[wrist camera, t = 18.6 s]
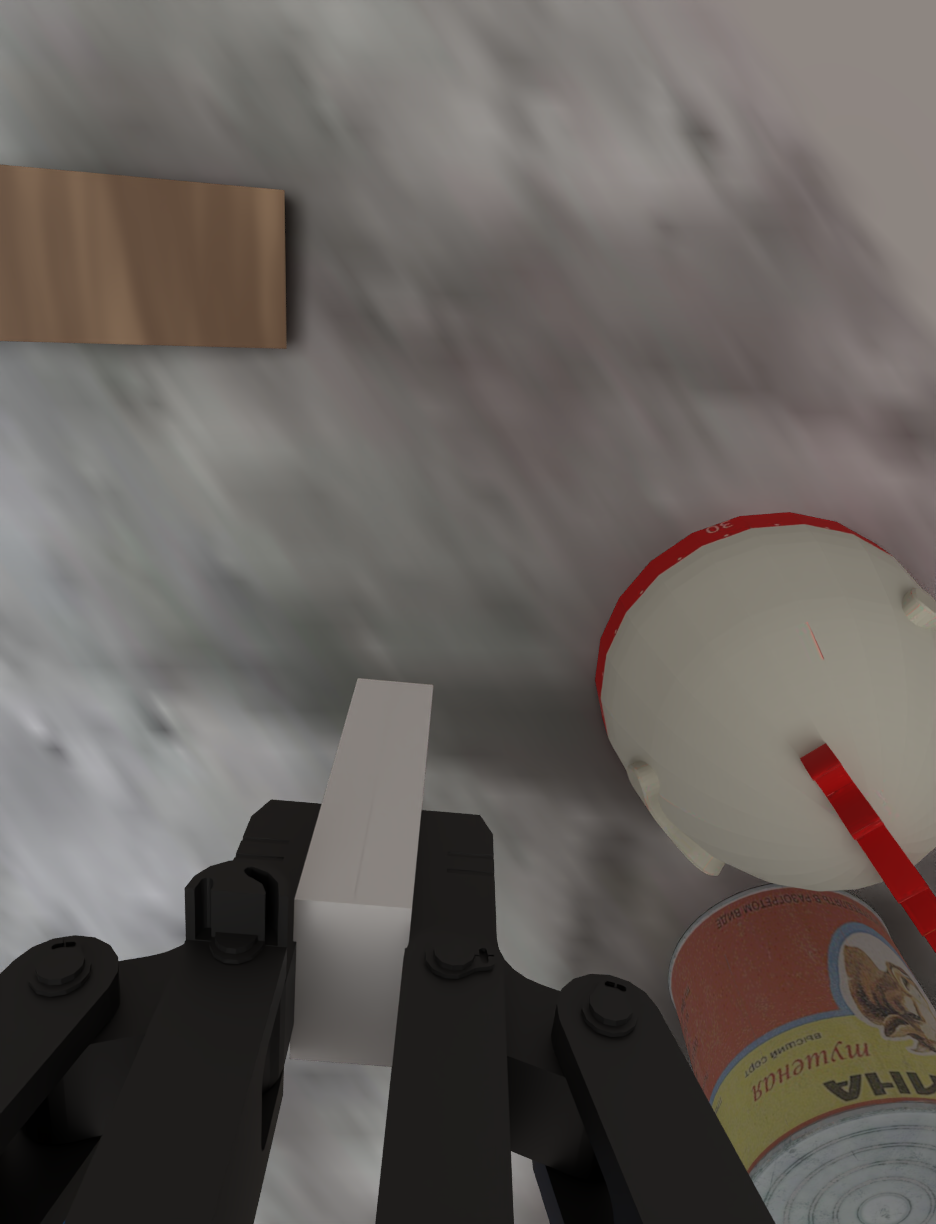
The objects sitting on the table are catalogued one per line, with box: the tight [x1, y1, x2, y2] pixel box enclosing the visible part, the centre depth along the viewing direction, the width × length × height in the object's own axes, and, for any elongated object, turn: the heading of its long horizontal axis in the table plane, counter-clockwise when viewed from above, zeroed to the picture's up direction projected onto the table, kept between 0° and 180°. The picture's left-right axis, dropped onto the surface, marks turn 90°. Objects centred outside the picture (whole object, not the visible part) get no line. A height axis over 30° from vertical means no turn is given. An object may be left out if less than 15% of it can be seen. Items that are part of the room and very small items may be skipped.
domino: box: [0, 165, 286, 349], centre depth 29 cm, size 2×5×10 cm
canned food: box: [668, 884, 936, 1224], centre depth 39 cm, size 11×11×12 cm
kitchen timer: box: [595, 512, 936, 953], centre depth 31 cm, size 14×14×15 cm
